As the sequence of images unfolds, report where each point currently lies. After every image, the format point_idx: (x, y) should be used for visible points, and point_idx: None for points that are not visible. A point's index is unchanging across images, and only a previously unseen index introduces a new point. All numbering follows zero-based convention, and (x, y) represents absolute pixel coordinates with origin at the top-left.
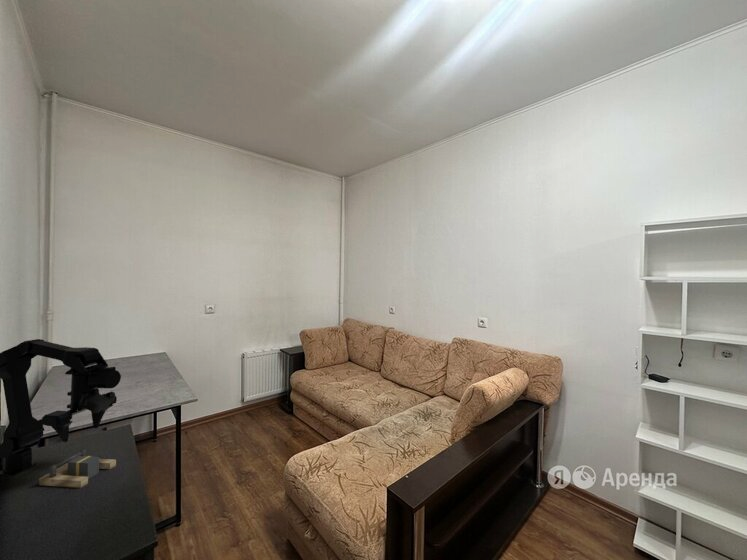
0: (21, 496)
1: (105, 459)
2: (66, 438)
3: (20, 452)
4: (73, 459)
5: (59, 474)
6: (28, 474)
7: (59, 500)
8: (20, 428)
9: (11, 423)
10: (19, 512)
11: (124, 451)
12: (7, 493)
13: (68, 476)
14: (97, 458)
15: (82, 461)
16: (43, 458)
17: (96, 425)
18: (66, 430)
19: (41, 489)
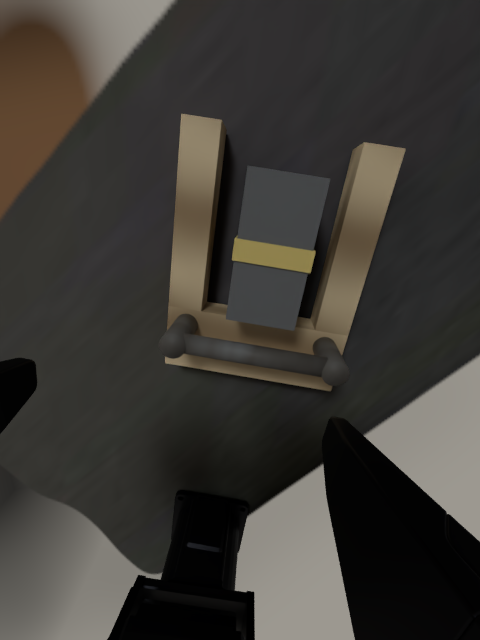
0: (388, 379)
1: (180, 194)
2: (364, 443)
3: (209, 585)
4: (266, 322)
5: (310, 330)
6: (239, 467)
7: (473, 184)
8: None
9: None
10: None
11: (49, 205)
12: None
13: (338, 269)
14: (259, 168)
15: (298, 242)
16: (139, 499)
17: (9, 378)
18: (464, 552)
19: (353, 344)
